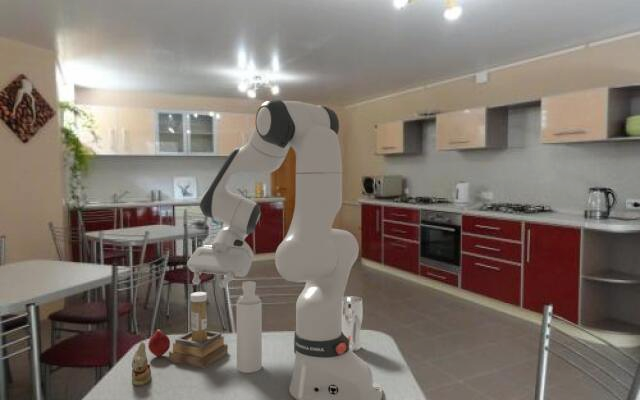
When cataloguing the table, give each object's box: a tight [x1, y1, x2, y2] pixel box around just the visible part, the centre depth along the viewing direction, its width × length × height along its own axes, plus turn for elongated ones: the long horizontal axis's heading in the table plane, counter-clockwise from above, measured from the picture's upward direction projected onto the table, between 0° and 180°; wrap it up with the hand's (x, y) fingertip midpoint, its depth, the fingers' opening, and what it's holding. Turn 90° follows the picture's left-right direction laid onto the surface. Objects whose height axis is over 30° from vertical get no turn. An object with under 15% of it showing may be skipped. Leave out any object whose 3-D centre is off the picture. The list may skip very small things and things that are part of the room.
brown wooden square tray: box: [168, 330, 229, 369], centre depth 128 cm, size 12×11×6 cm
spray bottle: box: [236, 280, 263, 374], centre depth 120 cm, size 7×7×25 cm
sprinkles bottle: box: [190, 291, 208, 342], centre depth 127 cm, size 5×5×14 cm
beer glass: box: [342, 295, 364, 352], centre depth 135 cm, size 7×7×15 cm
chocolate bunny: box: [131, 341, 152, 387], centre depth 113 cm, size 6×8×10 cm
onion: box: [147, 329, 171, 358], centre depth 127 cm, size 6×6×8 cm
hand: (208, 285), depth 131 cm, fingers open, 8 cm apart
